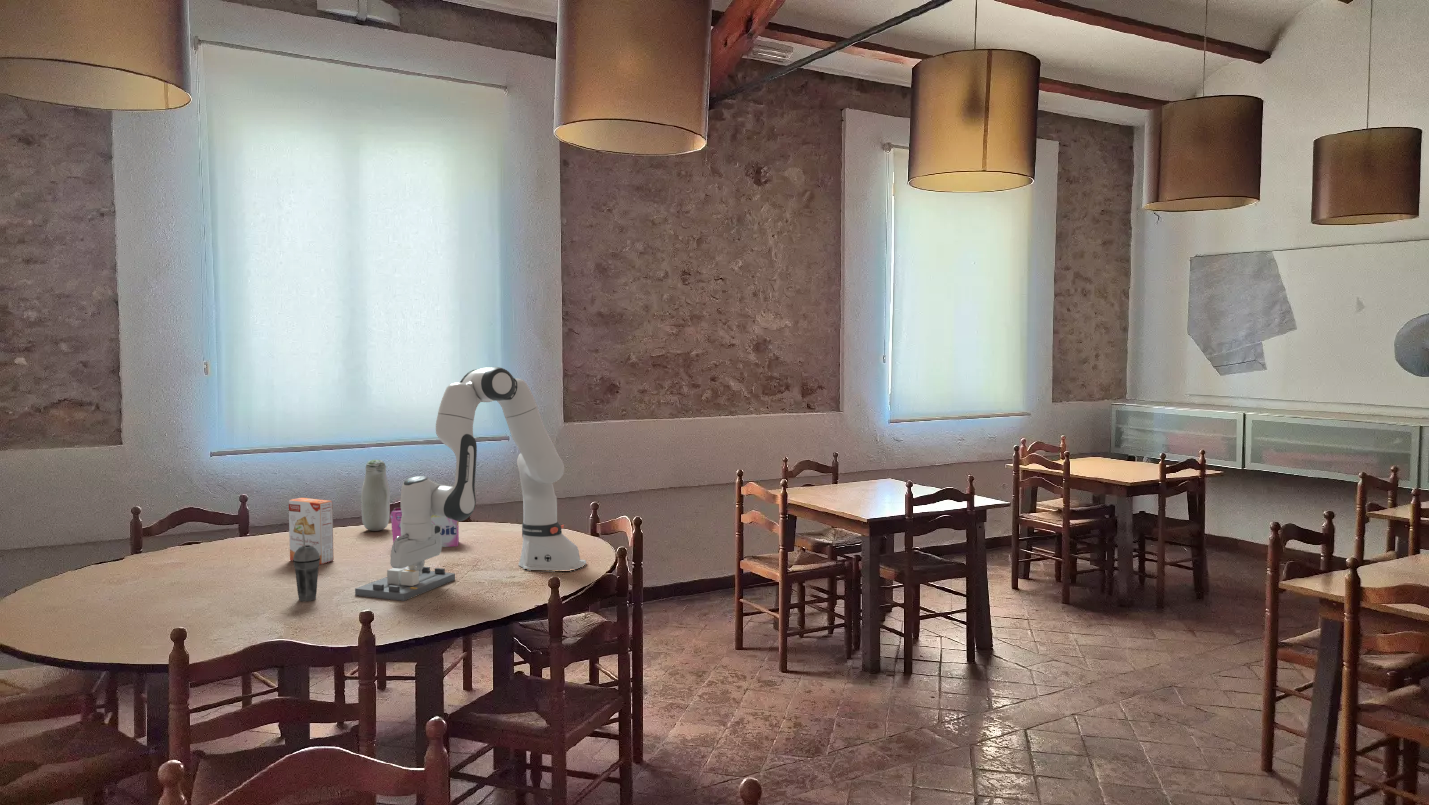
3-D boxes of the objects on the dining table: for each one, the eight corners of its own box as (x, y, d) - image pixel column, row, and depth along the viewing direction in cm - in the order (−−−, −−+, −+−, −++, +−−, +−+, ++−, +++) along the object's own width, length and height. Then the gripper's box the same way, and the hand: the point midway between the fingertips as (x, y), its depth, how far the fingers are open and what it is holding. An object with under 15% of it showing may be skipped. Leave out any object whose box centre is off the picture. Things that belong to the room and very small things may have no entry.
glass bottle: (357, 532, 352) (356, 461, 351) (371, 527, 363) (370, 457, 361) (381, 533, 351) (380, 461, 349) (394, 528, 361) (393, 458, 359)
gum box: (388, 549, 326) (388, 511, 325) (391, 544, 333) (391, 507, 332) (457, 546, 331) (457, 509, 330) (459, 542, 338) (459, 505, 337)
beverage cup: (326, 597, 263) (325, 529, 262) (307, 603, 256) (306, 533, 255) (306, 594, 266) (305, 527, 264) (287, 601, 259) (286, 531, 258)
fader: (418, 583, 271) (418, 569, 270) (412, 585, 268) (412, 572, 268) (407, 582, 272) (407, 568, 272) (401, 584, 269) (400, 570, 269)
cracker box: (288, 561, 306) (287, 499, 305) (303, 557, 312) (301, 496, 310) (320, 565, 301) (319, 502, 299) (334, 561, 306) (333, 499, 305)
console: (455, 579, 284) (454, 560, 284) (404, 601, 260) (403, 580, 260) (409, 575, 289) (408, 556, 289) (355, 595, 266) (354, 575, 265)
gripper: (402, 538, 261) (403, 586, 262) (445, 525, 281) (445, 569, 282) (384, 537, 263) (385, 583, 264) (427, 524, 283) (428, 567, 284)
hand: (416, 576), depth 273 cm, fingers closed
